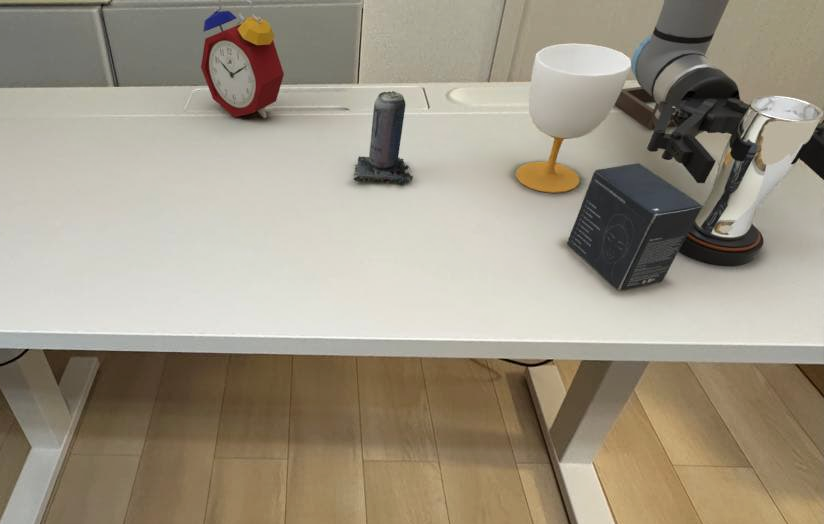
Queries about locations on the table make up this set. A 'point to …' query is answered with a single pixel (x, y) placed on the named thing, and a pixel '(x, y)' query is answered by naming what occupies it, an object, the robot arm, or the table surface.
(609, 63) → the cup
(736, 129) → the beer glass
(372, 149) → the beverage can
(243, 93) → the alarm clock
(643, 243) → the box
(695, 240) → the hot plate
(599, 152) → the table surface
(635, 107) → the wooden tray
